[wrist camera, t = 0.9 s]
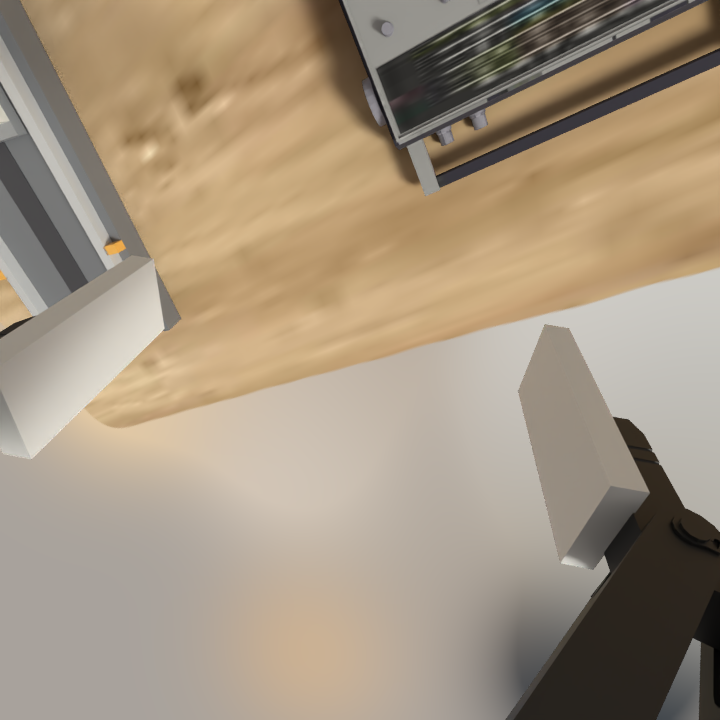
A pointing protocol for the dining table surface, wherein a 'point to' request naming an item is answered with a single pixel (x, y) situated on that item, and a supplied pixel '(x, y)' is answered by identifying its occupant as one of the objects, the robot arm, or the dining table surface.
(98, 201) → the grey slider base
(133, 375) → the dining table surface
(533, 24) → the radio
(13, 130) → the fader tab
